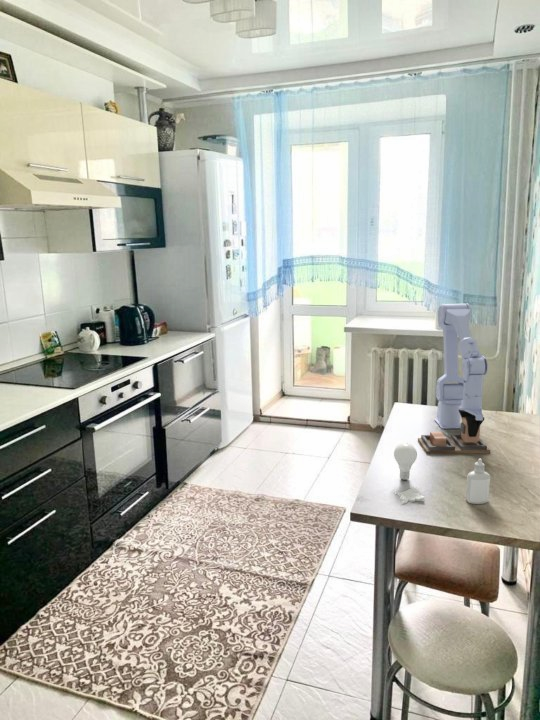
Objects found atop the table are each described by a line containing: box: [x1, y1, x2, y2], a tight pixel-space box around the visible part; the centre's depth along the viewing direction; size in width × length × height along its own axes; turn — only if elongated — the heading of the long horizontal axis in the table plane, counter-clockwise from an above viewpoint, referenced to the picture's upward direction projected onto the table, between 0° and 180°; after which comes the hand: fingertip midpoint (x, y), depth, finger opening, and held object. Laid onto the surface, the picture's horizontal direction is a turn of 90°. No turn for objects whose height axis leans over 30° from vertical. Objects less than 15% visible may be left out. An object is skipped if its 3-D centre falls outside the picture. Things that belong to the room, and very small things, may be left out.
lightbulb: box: [393, 442, 418, 481], centre depth 152 cm, size 6×6×11 cm
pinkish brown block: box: [459, 417, 481, 442], centre depth 173 cm, size 4×5×7 cm
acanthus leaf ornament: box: [394, 487, 425, 505], centre depth 144 cm, size 8×7×2 cm
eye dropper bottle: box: [465, 458, 491, 505], centre depth 139 cm, size 4×6×12 cm
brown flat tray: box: [417, 431, 491, 455], centre depth 174 cm, size 11×20×4 cm, turn 89°
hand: (469, 433), depth 174 cm, fingers closed on pinkish brown block, 4 cm apart
